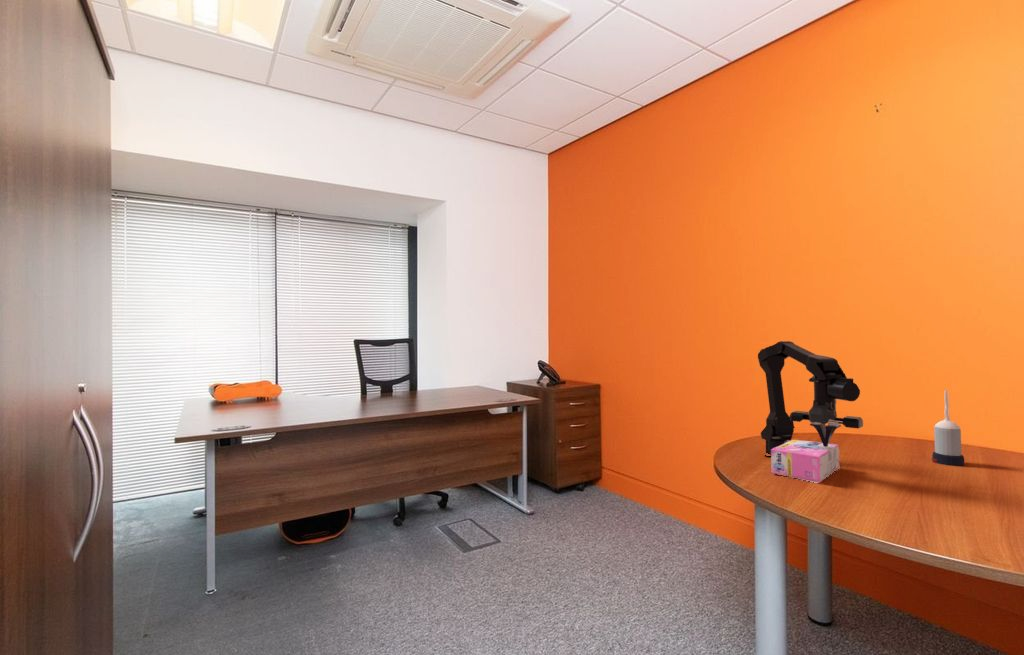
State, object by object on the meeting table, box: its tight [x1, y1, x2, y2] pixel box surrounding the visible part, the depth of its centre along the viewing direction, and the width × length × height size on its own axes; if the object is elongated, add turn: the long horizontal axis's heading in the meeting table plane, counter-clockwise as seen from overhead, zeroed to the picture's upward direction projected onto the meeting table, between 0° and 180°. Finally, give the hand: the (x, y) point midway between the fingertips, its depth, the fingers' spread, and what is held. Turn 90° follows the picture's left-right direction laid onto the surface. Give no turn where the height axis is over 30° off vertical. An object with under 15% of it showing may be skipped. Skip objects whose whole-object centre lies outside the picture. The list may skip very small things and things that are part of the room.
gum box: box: [770, 438, 841, 483], centre depth 153 cm, size 24×8×14 cm
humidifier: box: [931, 390, 965, 467], centre depth 162 cm, size 8×8×25 cm
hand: (825, 446), depth 149 cm, fingers closed
